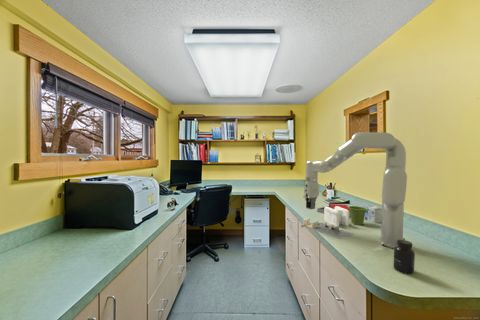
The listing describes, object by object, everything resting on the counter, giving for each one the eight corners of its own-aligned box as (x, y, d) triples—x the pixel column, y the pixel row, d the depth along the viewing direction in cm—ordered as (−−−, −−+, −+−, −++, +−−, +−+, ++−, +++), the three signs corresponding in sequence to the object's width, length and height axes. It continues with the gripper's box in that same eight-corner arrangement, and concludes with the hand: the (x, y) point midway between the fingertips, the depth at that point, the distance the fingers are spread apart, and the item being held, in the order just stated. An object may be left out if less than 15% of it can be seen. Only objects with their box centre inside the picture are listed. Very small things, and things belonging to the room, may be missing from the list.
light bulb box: (361, 218, 160) (362, 204, 160) (368, 218, 162) (369, 204, 162) (374, 223, 150) (375, 208, 149) (381, 222, 152) (382, 207, 151)
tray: (362, 213, 174) (363, 210, 174) (344, 218, 159) (344, 214, 159) (336, 207, 194) (336, 204, 194) (317, 211, 179) (317, 208, 179)
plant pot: (362, 221, 153) (362, 206, 153) (369, 226, 141) (370, 210, 141) (345, 220, 155) (345, 205, 155) (351, 225, 143) (351, 209, 143)
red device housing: (352, 215, 166) (352, 209, 166) (333, 214, 169) (333, 208, 169) (345, 210, 184) (345, 204, 184) (328, 209, 187) (328, 203, 187)
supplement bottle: (391, 270, 86) (392, 241, 86) (394, 264, 91) (395, 237, 91) (413, 277, 81) (414, 246, 81) (415, 270, 86) (416, 241, 86)
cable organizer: (350, 228, 138) (350, 210, 138) (336, 228, 136) (336, 211, 136) (336, 221, 152) (336, 205, 152) (323, 221, 151) (323, 205, 150)
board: (353, 236, 123) (353, 228, 123) (339, 241, 116) (339, 232, 116) (314, 223, 146) (314, 216, 146) (301, 227, 138) (301, 220, 138)
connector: (315, 208, 137) (315, 197, 137) (311, 209, 135) (311, 197, 134) (310, 207, 140) (310, 196, 140) (306, 208, 138) (306, 196, 138)
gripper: (307, 180, 129) (307, 209, 130) (324, 179, 139) (323, 206, 139) (298, 179, 136) (297, 207, 136) (314, 178, 145) (313, 204, 145)
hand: (310, 206), depth 137 cm, fingers closed on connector, 4 cm apart
